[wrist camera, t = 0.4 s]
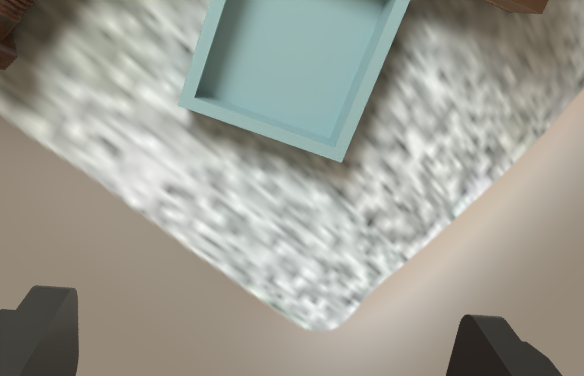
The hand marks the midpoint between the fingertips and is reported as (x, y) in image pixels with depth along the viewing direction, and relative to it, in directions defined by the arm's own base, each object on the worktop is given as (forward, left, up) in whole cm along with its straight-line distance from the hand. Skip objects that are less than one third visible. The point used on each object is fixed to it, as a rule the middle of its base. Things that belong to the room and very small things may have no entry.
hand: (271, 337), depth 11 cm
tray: (-5, +1, -27) cm, 27 cm away
